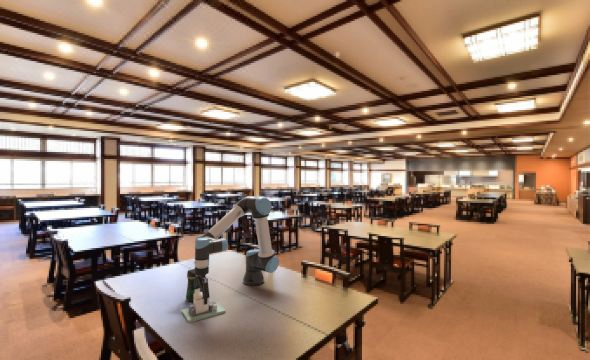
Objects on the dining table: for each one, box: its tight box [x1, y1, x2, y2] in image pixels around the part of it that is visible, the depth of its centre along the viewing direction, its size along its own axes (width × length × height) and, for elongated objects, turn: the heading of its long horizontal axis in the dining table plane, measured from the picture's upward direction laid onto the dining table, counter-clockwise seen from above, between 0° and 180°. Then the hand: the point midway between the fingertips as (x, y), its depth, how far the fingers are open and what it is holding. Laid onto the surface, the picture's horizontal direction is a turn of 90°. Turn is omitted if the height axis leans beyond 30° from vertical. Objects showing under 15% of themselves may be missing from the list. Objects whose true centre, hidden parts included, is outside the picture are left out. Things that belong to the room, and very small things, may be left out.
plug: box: [192, 292, 210, 314], centre depth 150 cm, size 7×5×10 cm, turn 127°
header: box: [188, 301, 213, 317], centre depth 150 cm, size 11×7×4 cm, turn 127°
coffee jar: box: [185, 268, 202, 302], centre depth 169 cm, size 10×8×19 cm
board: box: [181, 300, 227, 324], centre depth 152 cm, size 20×14×4 cm
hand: (200, 305), depth 150 cm, fingers open, 13 cm apart
